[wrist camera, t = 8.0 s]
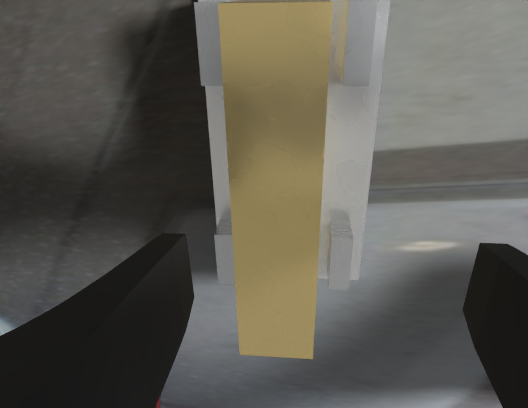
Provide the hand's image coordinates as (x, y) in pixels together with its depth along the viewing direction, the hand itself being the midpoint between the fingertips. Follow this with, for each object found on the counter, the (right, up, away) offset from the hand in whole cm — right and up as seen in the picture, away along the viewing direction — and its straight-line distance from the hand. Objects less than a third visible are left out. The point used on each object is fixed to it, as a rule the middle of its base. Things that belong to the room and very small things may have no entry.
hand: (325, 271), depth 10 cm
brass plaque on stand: (-1, +4, +9) cm, 10 cm away
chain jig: (-1, +4, +9) cm, 10 cm away
